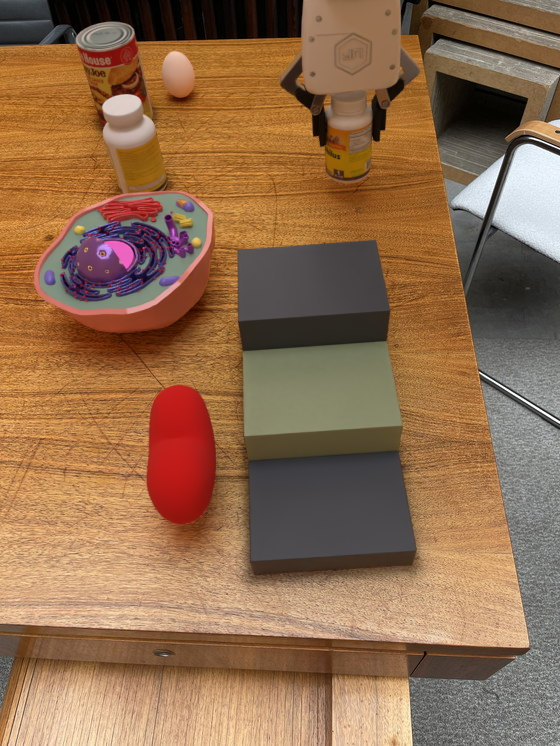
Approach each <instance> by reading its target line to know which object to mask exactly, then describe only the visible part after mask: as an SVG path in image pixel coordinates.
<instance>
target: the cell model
mask: <svg viewBox="0 0 560 746" xmlns="http://www.w3.org/2000/svg"><path fill="white" fill-rule="evenodd" d="M215 247H216V228H215V218H214V213H213V211H212V210H211V208H210V207H208V206H207V205H206V204H205V203H204V202H202V201H201V200H200V199H199V198H198V197H196V196H195V195H193V194H191V193H189V192H186V191H181V190H163V191H156V192H141V193H127V194H122V193H121V194H117V195H115V196H112V197H109V198H107V199H104V200H102V201H100V202H96V203H94V204H91V205H89V206H88V205H87V206H86V207H84V208H82V209H81V210H78V211H77V212H75V213H74V214H73V215H71V217H69V219H68V221H67V222H66V224H65V225H64V227H63V229H62V230H61V232H60V233H59V235H58V236H57V238H56V239H55V240H54V241H53V242H52V243H51V244H50V245H49V246H48V247H47V248H46V250H44V251H43V253H42V254H41V255H40V258H39V259H38V261H37V263H36V265H35V268H34V274H33V283H34V288H35V291H36V294H37V295H38V296H39V297H40V298H41V299H42V300H44V301H46V302H47V303H48V304H50V305H52V306H54V307H55V308H58V309H59V310H60V311H62V312H63V313H65V314H66V315H68V316H69V317H71V318H72V319H73V320H75V321H76V322H78V323H80V324H81V325H84V326H85V327H87V328H90V329H92V330H96V331H99V332H102V333H103V332H104V333H114V334H115V333H117V334H119V333H120V334H123V333H127V334H129V333H141V332H148V331H149V332H150V331H155V330H161V329H164V328H167V327H169V326H171V325H173V324H175V323H176V322H177V321H179V320H180V319H181V318H182V317H184V316H185V315H186V314H187V313H188V312H189V311H190V310H191V309H192V308H193V307H194V306H195V305H196V304H197V303H198V302H199V301H200V300H201V298H202V297H203V295H204V294H205V292H206V289H207V286H208V284H209V283H208V282H209V280H210V272H211V261H212V257H213V252H214V250H215Z"/></svg>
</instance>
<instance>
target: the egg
mask: <svg viewBox="0 0 560 746" xmlns="http://www.w3.org/2000/svg"><path fill="white" fill-rule="evenodd" d="M161 79H162V82H163V85H164V88H165V89H166V91H167V92H168V93H169V94H170V95H172V96H173V97H176V98H178V99H183V98H186V97H187V96H189V95H190V94H191V93H192V91H193V89H194V87H195V84H196V83H195V82H196V76H195V71H194V68H193V65H192V62H190V60H189V59H188V57H187V56H186V55H185V54H184V53H182V52H181V51H177V50H174V51H170V52H168V54H167V55H166V56H165V58H164V60H163V62H162V67H161Z"/></svg>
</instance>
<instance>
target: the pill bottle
mask: <svg viewBox="0 0 560 746" xmlns="http://www.w3.org/2000/svg"><path fill="white" fill-rule="evenodd" d="M102 110H103V114H104V118H105V120H106V121H107V123H106V125H105V127H104V128H103V130H102V138H103V142H104V146H105V149H106V152H107V154H108V159H109V161H110V164H111V167H112V170H113V173H114V177H115V180H116V183H117V186H118V189H119V191H120V192H121V194H127V193H141V192H156V191H165V189H166V187H167V185H168V176H167V171H166V170H167V169H166V167H165V162H164V157H163V154H162V150H161V146H160V141H159V137H158V132H157V129H156V125H155V123H154V121H153V120H151V119H150V118H149V117H147V116H146V115H144V114H143V113H144V110H143V106H142V102H141V100H140V99H139V98H138V97H137V96H134V95H129V94H124V95H118V96H114V97H112V98H110V99H108V100H107V101H105V102H104V104H103V106H102Z"/></svg>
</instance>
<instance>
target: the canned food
mask: <svg viewBox="0 0 560 746" xmlns="http://www.w3.org/2000/svg"><path fill="white" fill-rule="evenodd" d="M75 44H76V47H77V51H78V53H79V56H80V57H79V58H80V60H81V63H82V66H83V67H82V68H83V70H84V73H85V77H86V80H87V83H88V86H89V89H90V94H91V96H92V99H93V102H94V106H95V109H96V113H97V115H98V119H99V123H100V125H101V127H102V128H103V129H104V127H105V125H106V123H107V121H106V120H105V118H104V114H103V110H102V106H103V104H104V102H105V101H107V100H108V99H110V98H112V97H114V96H118V95H124V94H129V95H134V96H137V97H138V98H139V99H140V100H141V102H142V106H143V110H144V113H143V114H144V115H146V116H147V117H149V118H150V119H151V120H152V119H153V118H154V111H153V107H152V102H151V98H150V94H149V89H148V85H147V81H146V80H147V79H146V75H145V71H144V68H143V63H142V58H141V55H140V50H139V46H138V41H137V37H136V33H135V29H134V28H133V27H132V26H131V25H130V24H128V23H125V22H120V21H106V22H100V23H95V24H93V25H92V24H91V25H90V26H88V27H86V28H84V29H83V30H81V31H79V33H78V34H77V35H76V37H75ZM152 121H153V120H152Z"/></svg>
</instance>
